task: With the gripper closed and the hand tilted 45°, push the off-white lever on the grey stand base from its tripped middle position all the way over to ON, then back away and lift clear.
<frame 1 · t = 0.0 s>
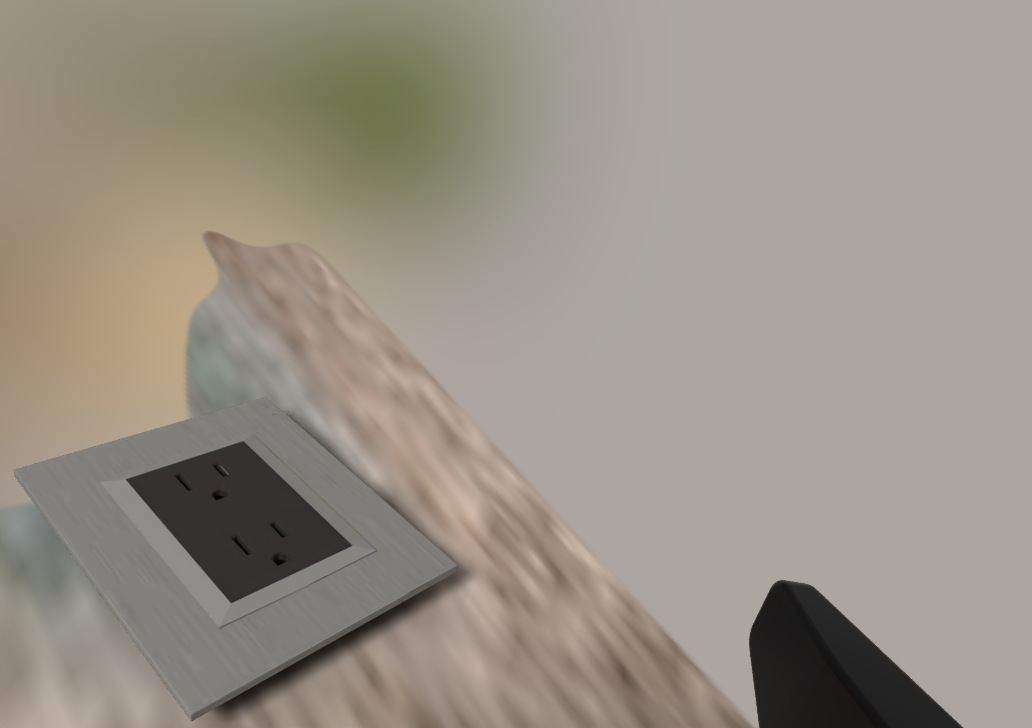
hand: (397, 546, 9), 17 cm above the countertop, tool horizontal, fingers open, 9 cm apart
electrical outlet: (235, 562, 31), on the countertop
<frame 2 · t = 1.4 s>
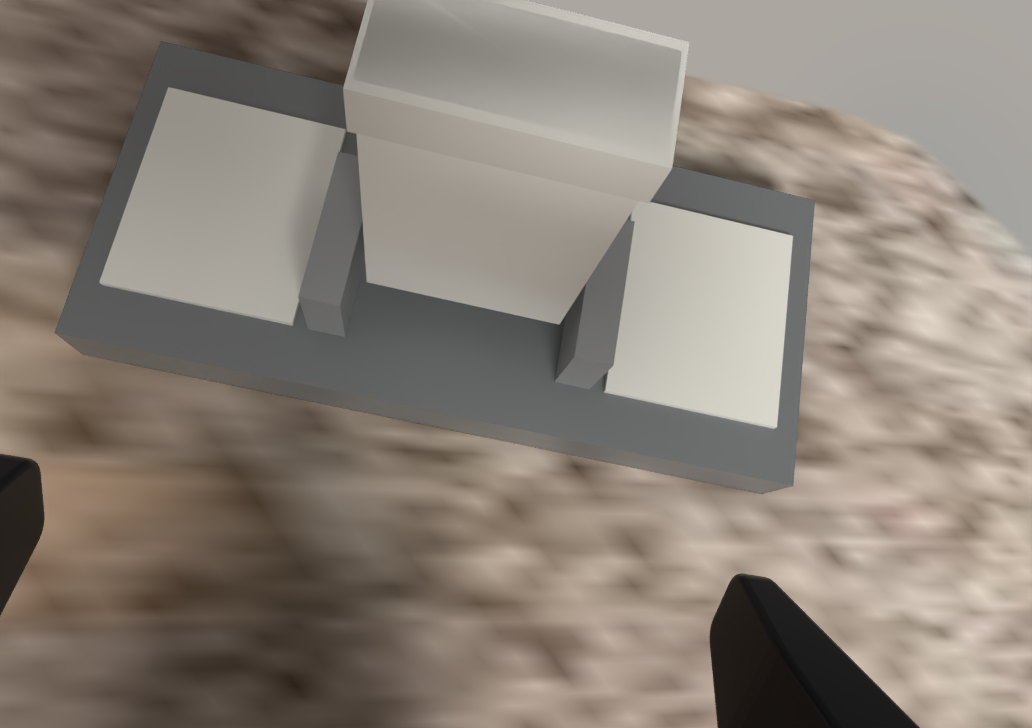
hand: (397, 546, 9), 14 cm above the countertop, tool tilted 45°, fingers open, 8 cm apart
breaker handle: (491, 190, 17), point 8 cm above the countertop, hinge at 0.0°
grey stand base: (465, 285, 25), on the countertop
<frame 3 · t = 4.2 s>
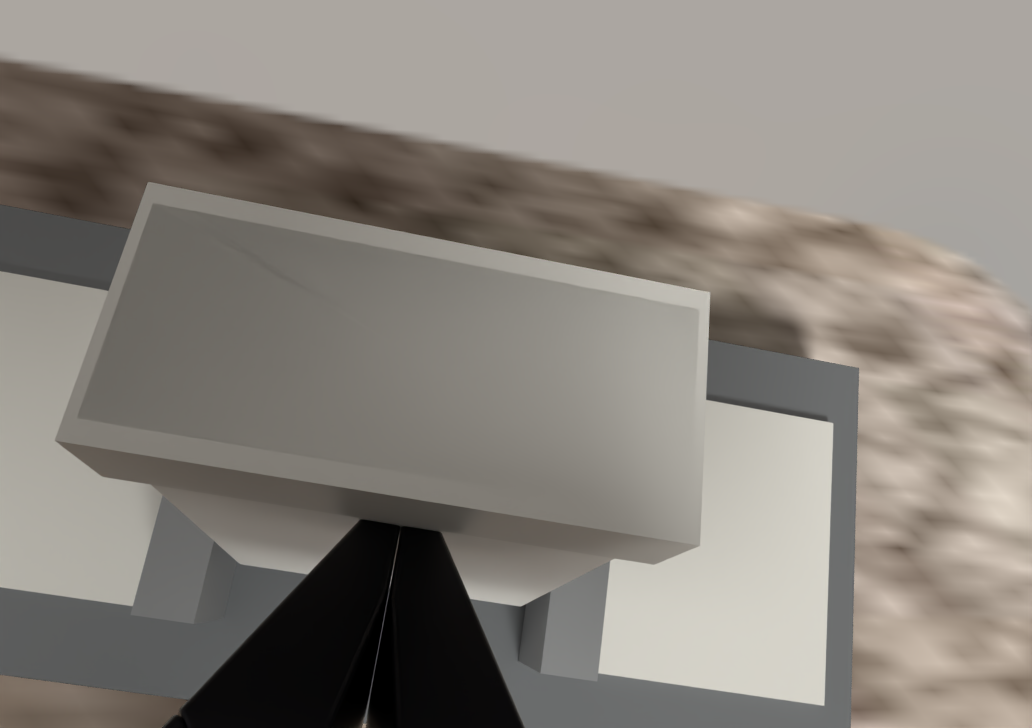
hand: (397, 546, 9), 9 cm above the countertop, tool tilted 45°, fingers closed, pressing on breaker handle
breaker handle: (400, 474, 11), point 8 cm above the countertop, hinge at 6.0°, touching gripper
grey stand base: (400, 498, 19), on the countertop
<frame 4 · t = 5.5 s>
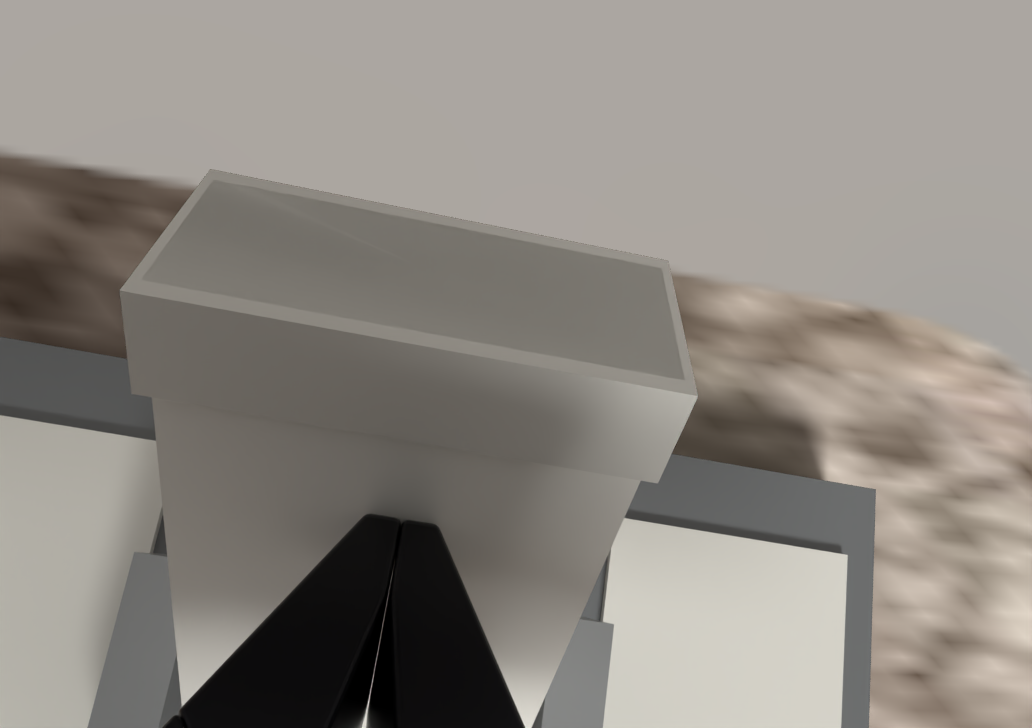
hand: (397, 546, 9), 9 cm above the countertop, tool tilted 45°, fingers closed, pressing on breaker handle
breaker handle: (388, 539, 11), point 7 cm above the countertop, hinge at 36.5°, touching gripper
grey stand base: (375, 632, 17), on the countertop
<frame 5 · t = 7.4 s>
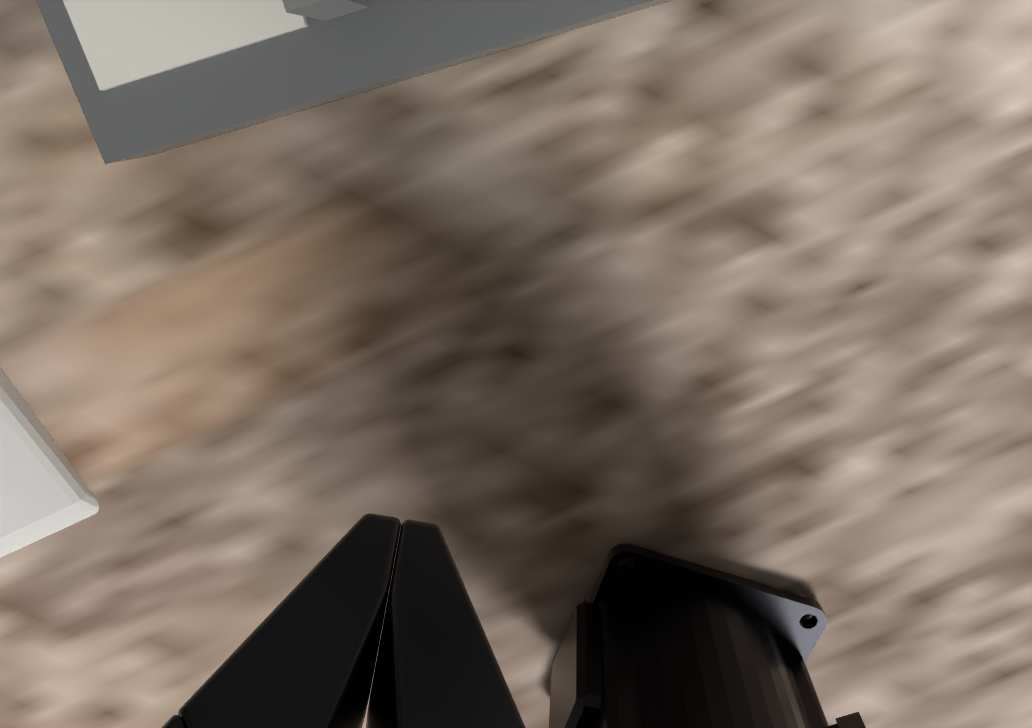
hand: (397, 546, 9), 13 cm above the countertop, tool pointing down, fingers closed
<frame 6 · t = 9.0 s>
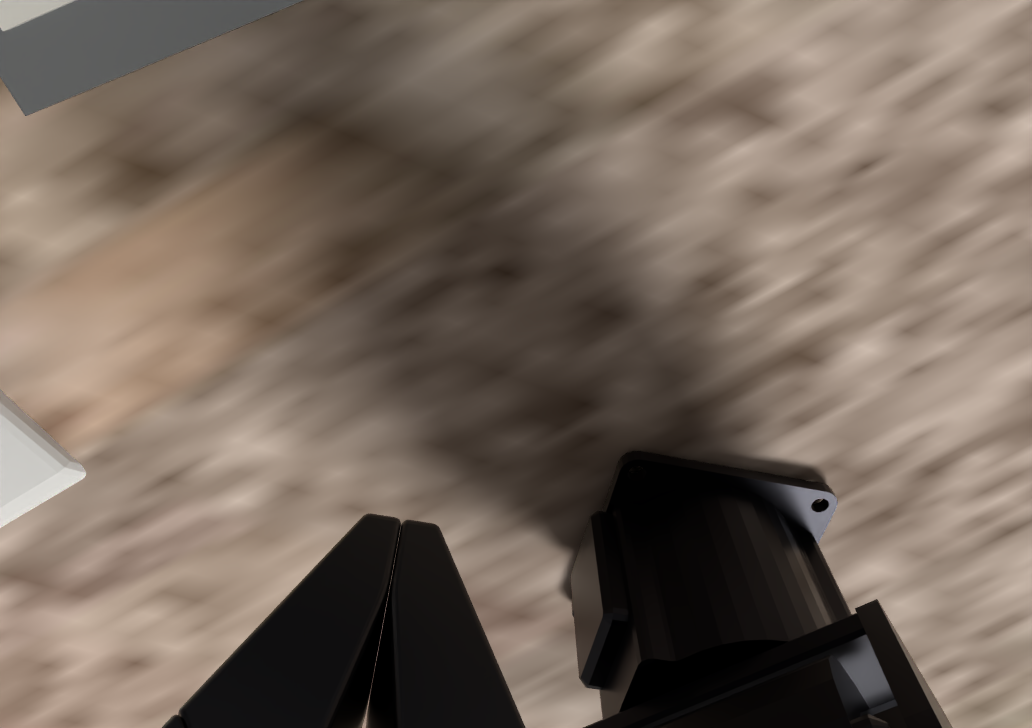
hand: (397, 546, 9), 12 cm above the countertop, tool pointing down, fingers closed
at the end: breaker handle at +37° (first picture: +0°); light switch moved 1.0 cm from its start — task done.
